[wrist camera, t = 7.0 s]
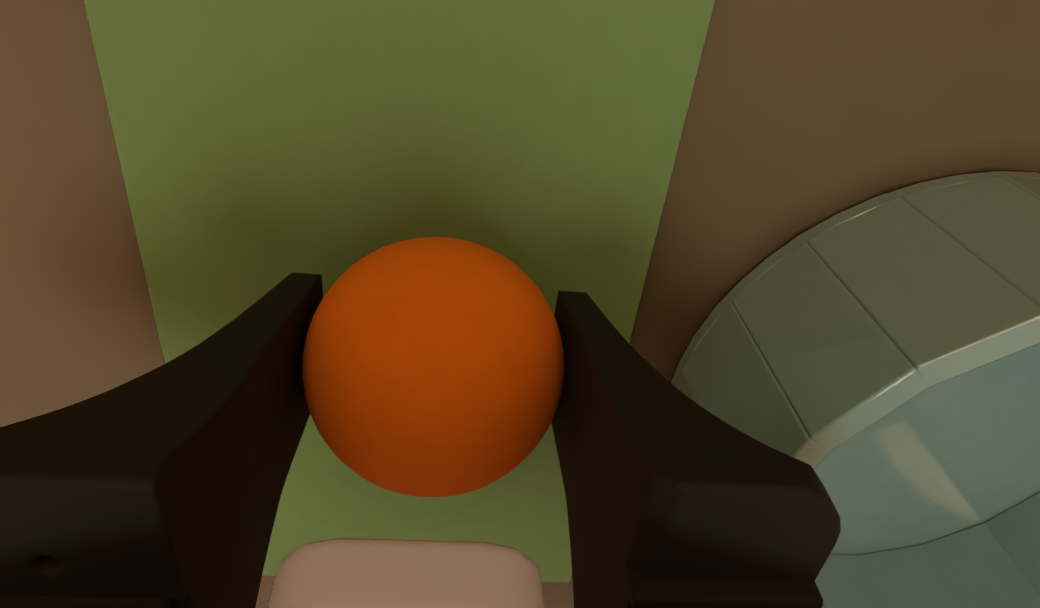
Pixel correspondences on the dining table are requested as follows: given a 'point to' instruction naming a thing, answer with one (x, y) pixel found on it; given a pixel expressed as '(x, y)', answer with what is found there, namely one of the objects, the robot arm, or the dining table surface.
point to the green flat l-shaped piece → (396, 184)
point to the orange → (433, 367)
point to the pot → (900, 387)
